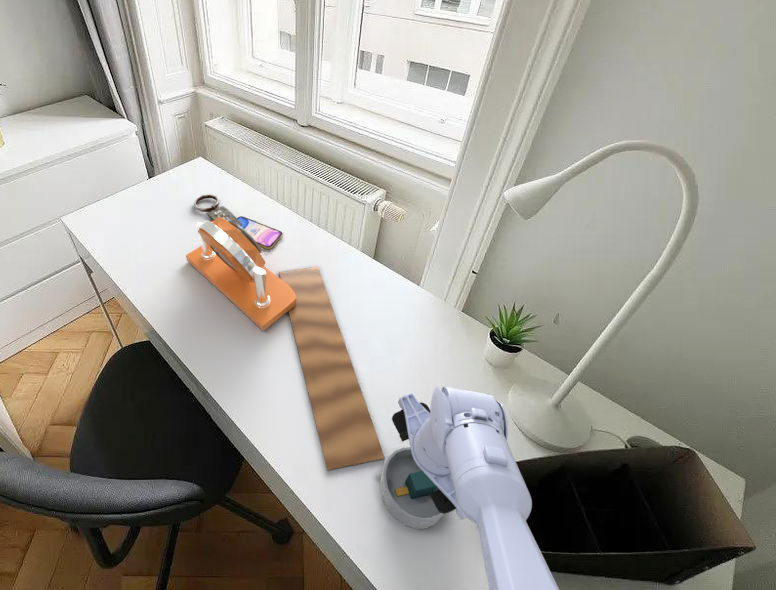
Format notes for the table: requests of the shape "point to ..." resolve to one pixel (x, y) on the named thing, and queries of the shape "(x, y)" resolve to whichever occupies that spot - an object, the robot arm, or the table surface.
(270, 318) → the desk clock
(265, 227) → the smartphone
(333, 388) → the mat
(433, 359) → the table surface
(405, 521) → the bowl
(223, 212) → the keychain
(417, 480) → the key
